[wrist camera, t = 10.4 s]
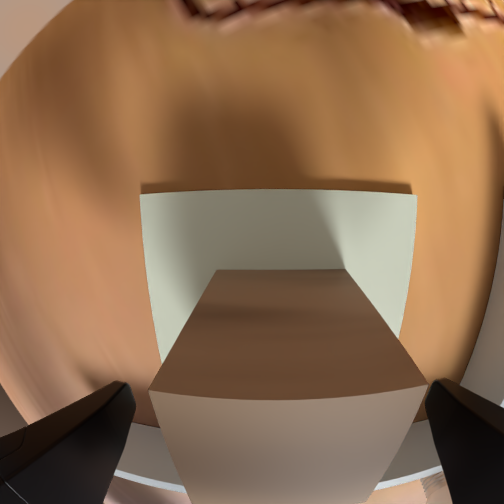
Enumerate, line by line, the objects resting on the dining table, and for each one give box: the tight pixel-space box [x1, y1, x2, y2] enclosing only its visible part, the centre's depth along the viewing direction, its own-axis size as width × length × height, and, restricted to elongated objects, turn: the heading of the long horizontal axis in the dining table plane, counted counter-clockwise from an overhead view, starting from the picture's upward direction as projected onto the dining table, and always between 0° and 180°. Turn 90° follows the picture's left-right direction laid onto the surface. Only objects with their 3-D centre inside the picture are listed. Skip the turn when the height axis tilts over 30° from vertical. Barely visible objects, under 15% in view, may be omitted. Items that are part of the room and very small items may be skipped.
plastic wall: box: [114, 201, 504, 493], centre depth 10 cm, size 16×22×4 cm
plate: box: [140, 189, 417, 364], centre depth 12 cm, size 11×11×1 cm
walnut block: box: [148, 269, 429, 504], centre depth 8 cm, size 5×5×7 cm
